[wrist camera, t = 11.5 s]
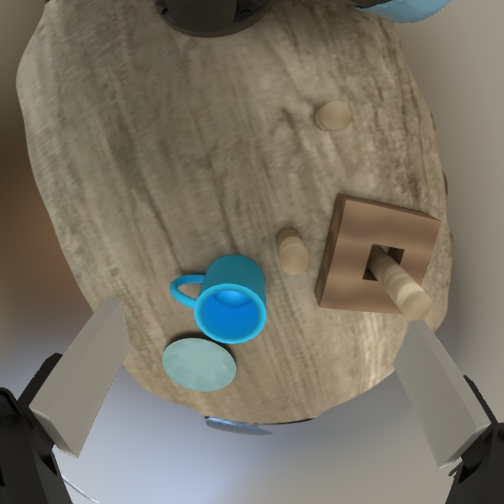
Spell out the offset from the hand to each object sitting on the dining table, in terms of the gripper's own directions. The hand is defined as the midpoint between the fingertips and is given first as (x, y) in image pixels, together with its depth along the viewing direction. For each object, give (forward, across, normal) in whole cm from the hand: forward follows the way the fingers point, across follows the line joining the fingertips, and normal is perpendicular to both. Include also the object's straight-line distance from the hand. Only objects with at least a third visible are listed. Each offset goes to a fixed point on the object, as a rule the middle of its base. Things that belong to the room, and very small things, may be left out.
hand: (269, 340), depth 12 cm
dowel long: (+26, +16, -6) cm, 31 cm away
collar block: (+26, +16, -5) cm, 31 cm away
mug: (+26, -5, -11) cm, 29 cm away
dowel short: (+26, +7, +11) cm, 29 cm away
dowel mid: (+26, +4, -4) cm, 26 cm away
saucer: (+26, -8, -26) cm, 37 cm away
